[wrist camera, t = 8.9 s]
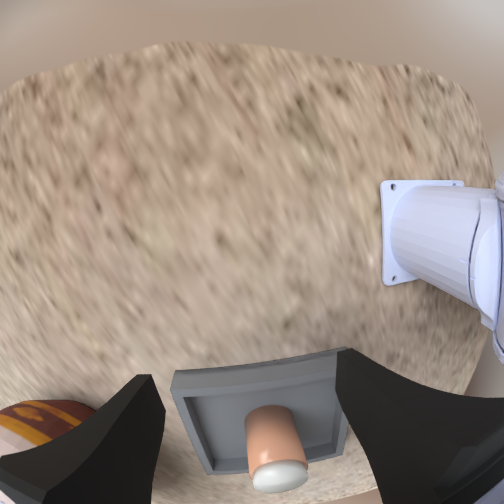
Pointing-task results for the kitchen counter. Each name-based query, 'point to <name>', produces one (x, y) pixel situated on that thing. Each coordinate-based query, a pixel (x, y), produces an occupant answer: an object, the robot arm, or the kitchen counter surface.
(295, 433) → the shaker
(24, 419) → the jug
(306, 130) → the kitchen counter surface
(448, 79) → the kitchen counter surface
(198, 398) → the tray
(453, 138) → the kitchen counter surface
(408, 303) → the kitchen counter surface
